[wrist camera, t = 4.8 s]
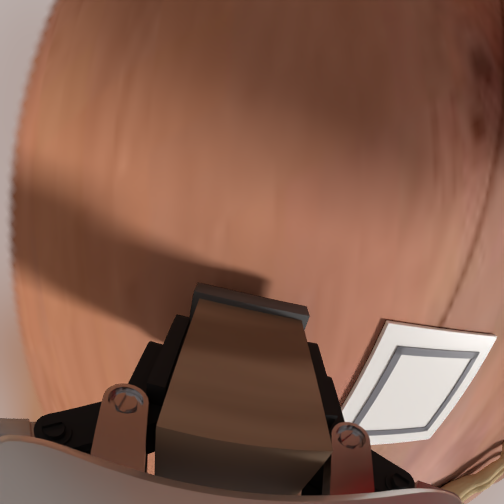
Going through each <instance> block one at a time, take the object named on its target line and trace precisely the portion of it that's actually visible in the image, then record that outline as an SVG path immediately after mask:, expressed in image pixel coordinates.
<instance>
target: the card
mask: <svg viewBox="0 0 504 504" xmlns="http://www.w3.org/2000/svg"><path fill="white" fill-rule="evenodd" d="M496 338H497V336H496V335H493V334H484V333H475V332H467V331H459V330H451V329H443V328H436V327H429V326H422V325H415V324H408V323H401V322H395V321H388V320H386V322H385V325H384V327H383V329H382V331H381V333H380V335H379V337H378V340H377V342H376V344H375V346H374V348H373V350H372V352H371V354H370V356H369V358H368V360H367V362H366V364H365V366H364V368H363V369H362V371H361V373H360V375H359V377H358V379H357V381H356V382H355V384H354V386H353V388H352V390H351V391H350V393H349V395H348V397H347V398H346V400H345V402H344V404H343V405H342V407H341V410H342V414H343V417H344V421H345V422H351V423H355V424H357V425H359V426H361V427H362V428H363V429H364V430H365V431H366V432H367V433H368V435H369V438H370V445H376V444H390V443H400V442H409V441H418V440H425V439H429V438H430V437H431V436H432V435H433V434H434V432H435V431H436V430H437V429H438V427H439V426H440V425H441V424H442V422H443V421H444V420H445V418H446V417H447V416H448V414H449V413H450V412H451V410H452V409H453V408H454V406H455V405H456V403H457V402H458V400H459V399H460V398H461V396H462V395H463V393H464V392H465V390H466V389H467V387H468V386H469V384H470V383H471V381H472V380H473V378H474V376H475V375H476V373H477V371H478V370H479V368H480V367H481V365H482V363H483V361H484V360H485V358H486V356H487V355H488V353H489V351H490V349H491V347H492V345H493V344H494V342H495V340H496Z"/></svg>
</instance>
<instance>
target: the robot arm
mask: <svg viewBox="0 0 504 504" xmlns="http://www.w3.org/2000/svg"><path fill="white" fill-rule="evenodd" d="M190 324H191V322H190V318H189V317H185V316H181V315H176V317H175V319H174V321H173V324H172V326H171V328H170V330H169V333H168V335H167V337H166V339H165V342H164V344H163V345H162V344H159V343H155V342H152V341H150V342H149V343H148V345H147V347H146V349H145V351H144V353H143V355H142V357H141V359H140V361H139V363H138V365H137V367H136V369H135V371H134V373H133V375H132V377H131V379H130V381H129V383H128V384H115V385H113V386H111V387H109V388H108V389H107V390H106V391H105V393H104V395H103V399H102V402H98V403H94V404H90V405H86V406H82V407H78V408H74V409H69V410H65V411H60V412H56V413H51V414H47V415H44V416H42V417H41V418H39V419H38V420H37V422H30V421H29V419H5V418H0V504H464V503H463V502H462V501H461V499H460V497H459V496H458V495H457V494H455V493H453V492H451V491H448V490H445V489H441V488H438V487H435V486H432V485H430V484H427V483H424V482H421V481H417V482H416V483H415V482H414V480H413V478H412V476H411V475H410V474H409V473H408V472H406V471H405V470H403V469H402V468H400V467H398V466H397V465H395V464H393V463H392V462H390V461H388V460H387V459H385V458H384V457H382V456H380V455H379V454H377V453H376V452H374V451H373V450H371V445H370V438H369V435H368V433H367V432H366V431H365V430H364V429H363V428H362V427H361V426H359V425H357V424H355V423H351V422H345V421H344V417H343V414H342V410H341V407H340V404H339V400H338V397H337V393H336V390H335V387H334V383H333V380H332V378H331V377H329V376H327V374H326V371H325V367H324V364H323V360H322V357H321V354H320V350H319V347H318V344H316V343H311V342H307V343H308V347H309V351H310V355H311V359H312V363H313V367H314V371H315V375H316V379H317V384H318V388H319V392H320V396H321V400H322V404H323V409H324V413H325V417H326V422H327V426H328V430H329V435H330V439H331V444H332V448H333V452H332V454H331V455H330V456H329V457H328V459H327V460H326V461H325V463H324V464H323V465H322V466H321V468H320V469H319V470H318V471H317V472H316V474H315V475H314V476H313V477H312V478H311V480H310V481H309V482H308V483H307V484H306V485H305V487H304V488H303V489H302V490H301V491H300V492H299V493H298V495H274V494H260V493H249V492H240V491H232V490H225V489H218V488H212V487H206V486H200V485H195V484H190V483H185V482H180V481H176V480H171V479H167V478H163V477H159V476H155V475H152V474H148V473H147V467H148V454H149V453H152V452H155V442H156V425H157V422H158V418H159V415H160V412H161V409H162V406H163V403H164V400H165V397H166V394H167V391H168V388H169V385H170V382H171V379H172V376H173V373H174V370H175V367H176V364H177V361H178V358H179V355H180V352H181V349H182V346H183V344H184V341H185V338H186V335H187V332H188V329H189V326H190Z"/></svg>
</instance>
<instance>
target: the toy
mask: <svg viewBox="0 0 504 504" xmlns="http://www.w3.org/2000/svg"><path fill="white" fill-rule="evenodd" d="M500 454H501V457H500V458H499V459H498V460H496V461H494V462H492V463H491V464H489V465H488V466H486V467H485V468H484V469H482V470H481V471H479V472H478V473H476V474H473V475H466V476H464V477H462V478H459V479H456V480H453V481H451V482H449V483H448V484H446V485H444V486H443V487H441V489H445V490H448V491H451V492H453V493H455V494H457V495H458V496H459V497H460V499H461V501H462V502H464V501H465V500H466V499H467V498H468V497H470V496H471V495H473V494H475V493H478V492H481V491H483V490H485V489H487V488H489V487H490V486H491V485H492V484H493V483H494V482H495V481H496V480H497V479H498V478H499V477H500V476H501V475H502V474H503V473H504V442H503V443H502V452H501V453H500Z"/></svg>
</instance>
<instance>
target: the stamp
mask: <svg viewBox="0 0 504 504" xmlns="http://www.w3.org/2000/svg"><path fill="white" fill-rule="evenodd" d="M189 318H190V322H191V324H190V326H189V329H188V332H187V335H186V338H185V341H184V344H183V346H182V349H181V352H180V355H179V358H178V361H177V364H176V367H175V370H174V373H173V376H172V379H171V382H170V385H169V388H168V391H167V394H166V397H165V400H164V403H163V406H162V409H161V412H160V415H159V418H158V422H157V425H156V442H155V476H159V477H163V478H167V479H171V480H176V481H180V482H185V483H190V484H195V485H200V486H206V487H212V488H218V489H225V490H232V491H240V492H249V493H260V494H274V495H298V493H299V492H300V491H301V490H302V489H303V488H304V487H305V485H306V484H307V483H308V482H309V481H310V480H311V478H312V477H313V476H314V475H315V474H316V472H317V471H318V470H319V469H320V468H321V466H322V465H323V464H324V463H325V461H326V460H327V459H328V457H329V456H330V455H331V454H332V452H333V448H332V444H331V439H330V435H329V430H328V426H327V422H326V417H325V413H324V409H323V404H322V400H321V396H320V392H319V388H318V384H317V379H316V375H315V371H314V367H313V363H312V359H311V355H310V351H309V347H308V343H307V339H306V335H305V331H304V330H305V327H306V324H307V322H308V319H309V312H308V309H307V306H302V305H298V304H293V303H288V302H283V301H278V300H274V299H269V298H264V297H260V296H255V295H251V294H246V293H242V292H237V291H233V290H228V289H224V288H220V287H215V286H211V285H207V284H203V283H197V285H196V288H195V290H194V294H193V300H192V306H191V311H190V317H189Z"/></svg>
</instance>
